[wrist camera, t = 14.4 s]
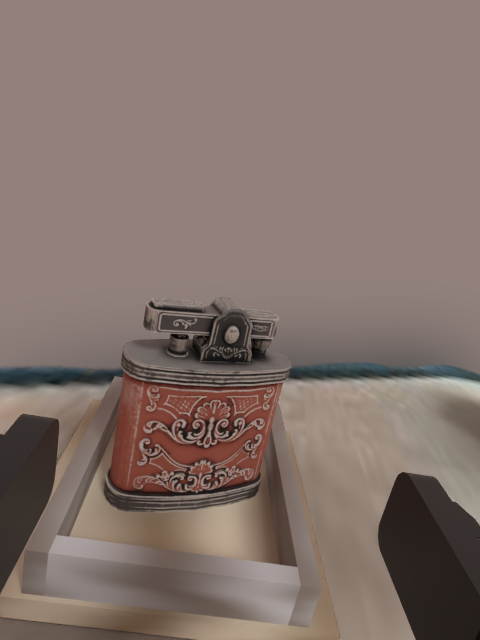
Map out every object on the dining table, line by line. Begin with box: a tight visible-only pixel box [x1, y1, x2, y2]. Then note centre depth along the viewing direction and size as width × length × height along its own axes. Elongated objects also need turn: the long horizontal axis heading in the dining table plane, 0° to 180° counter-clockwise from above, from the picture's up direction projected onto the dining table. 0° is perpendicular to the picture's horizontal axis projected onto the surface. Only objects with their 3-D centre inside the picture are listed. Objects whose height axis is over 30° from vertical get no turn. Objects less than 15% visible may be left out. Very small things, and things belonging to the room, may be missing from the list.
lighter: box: [104, 297, 292, 513], centre depth 22 cm, size 8×3×10 cm, turn 111°
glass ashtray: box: [0, 376, 340, 640], centre depth 23 cm, size 13×14×3 cm
